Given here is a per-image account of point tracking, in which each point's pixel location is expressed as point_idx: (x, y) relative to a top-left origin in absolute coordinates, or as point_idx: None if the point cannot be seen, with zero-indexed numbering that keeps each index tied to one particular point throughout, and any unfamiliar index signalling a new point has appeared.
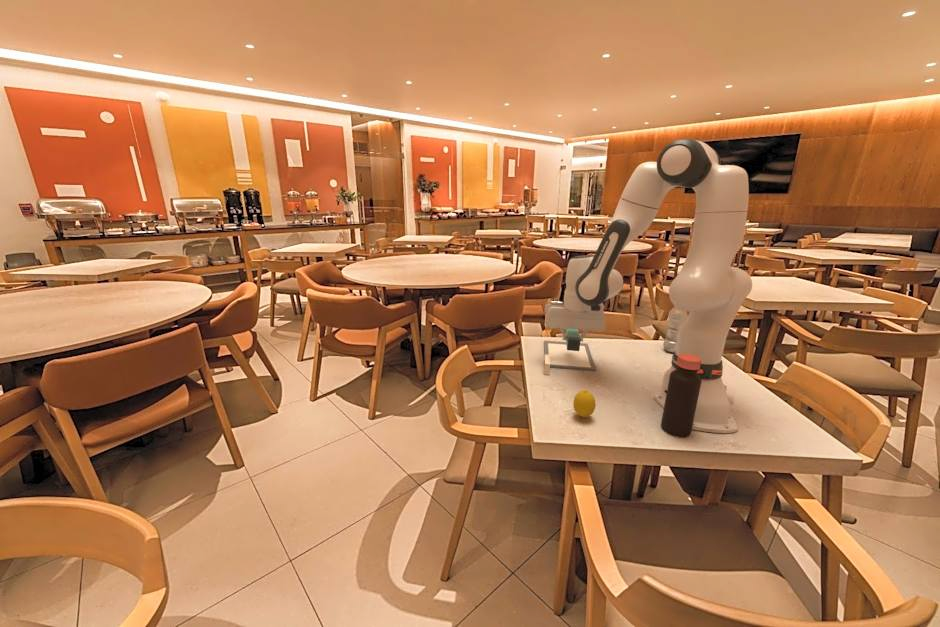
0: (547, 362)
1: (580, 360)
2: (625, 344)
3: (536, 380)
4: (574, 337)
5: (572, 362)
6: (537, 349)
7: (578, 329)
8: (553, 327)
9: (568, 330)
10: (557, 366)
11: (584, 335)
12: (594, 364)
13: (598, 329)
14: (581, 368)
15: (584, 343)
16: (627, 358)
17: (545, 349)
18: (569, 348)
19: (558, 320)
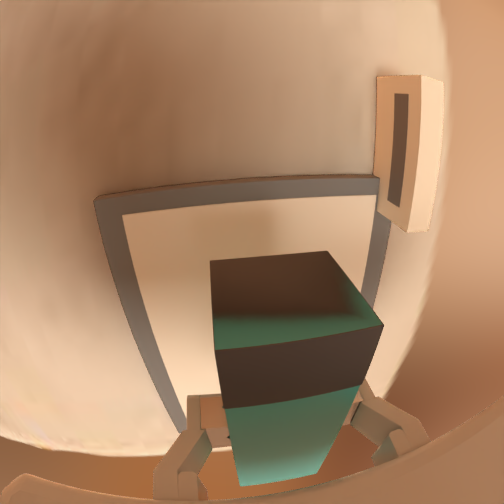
0: (433, 99)
1: (191, 293)
2: (73, 436)
3: (423, 26)
4: (291, 393)
5: (239, 253)
6: (376, 350)
7: (259, 496)
8: (485, 409)
9: (312, 462)
10: (334, 177)
11: (178, 445)
12: (109, 265)
13: (45, 494)
14: (181, 187)
15: None
16: (25, 363)
17: None
18: (313, 261)
19: (496, 478)
